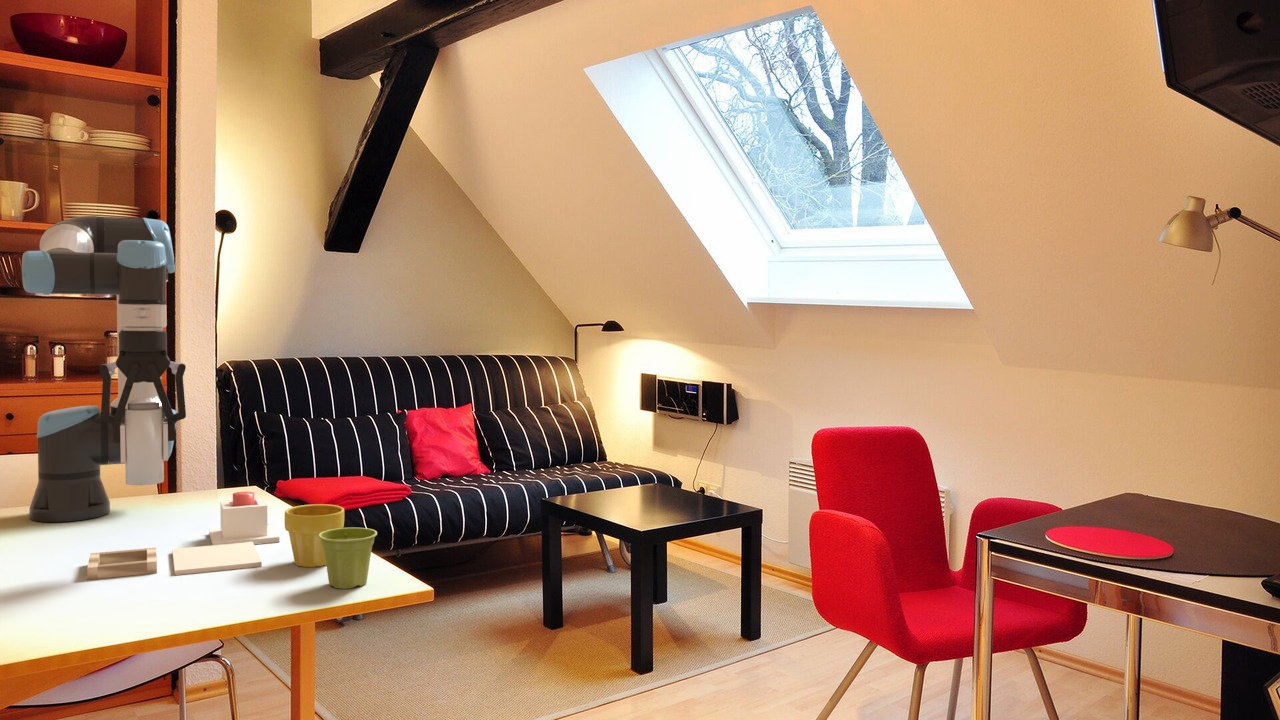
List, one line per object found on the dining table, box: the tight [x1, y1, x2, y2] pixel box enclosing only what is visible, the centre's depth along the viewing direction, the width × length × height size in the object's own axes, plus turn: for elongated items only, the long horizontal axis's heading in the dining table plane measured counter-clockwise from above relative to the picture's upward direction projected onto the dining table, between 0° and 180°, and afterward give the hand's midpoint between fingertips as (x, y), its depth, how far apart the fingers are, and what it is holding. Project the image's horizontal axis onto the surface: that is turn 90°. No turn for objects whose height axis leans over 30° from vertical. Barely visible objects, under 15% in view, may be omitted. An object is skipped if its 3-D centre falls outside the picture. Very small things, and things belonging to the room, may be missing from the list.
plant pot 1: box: [284, 503, 345, 568], centre depth 177 cm, size 10×10×10 cm
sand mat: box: [172, 542, 263, 576], centre depth 178 cm, size 16×14×1 cm
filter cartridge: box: [124, 402, 165, 486], centre depth 172 cm, size 6×6×14 cm
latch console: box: [208, 497, 280, 545], centre depth 194 cm, size 12×12×7 cm
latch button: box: [232, 491, 255, 507], centre depth 194 cm, size 4×4×5 cm
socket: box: [86, 547, 158, 581], centre depth 172 cm, size 10×10×2 cm
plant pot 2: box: [319, 527, 378, 589], centre depth 165 cm, size 9×9×9 cm
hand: (144, 460), depth 172 cm, fingers closed on filter cartridge, 6 cm apart
